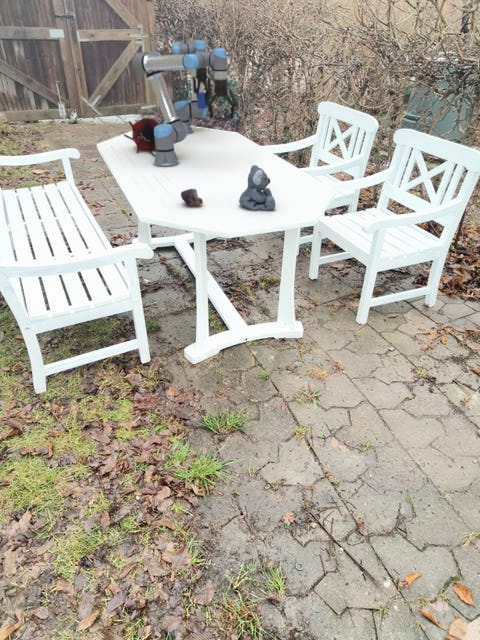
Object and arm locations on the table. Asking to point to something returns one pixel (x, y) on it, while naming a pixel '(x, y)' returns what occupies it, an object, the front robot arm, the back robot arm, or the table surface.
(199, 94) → the block
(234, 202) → the table surface
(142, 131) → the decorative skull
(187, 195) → the rock
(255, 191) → the koala plush
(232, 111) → the front robot arm
